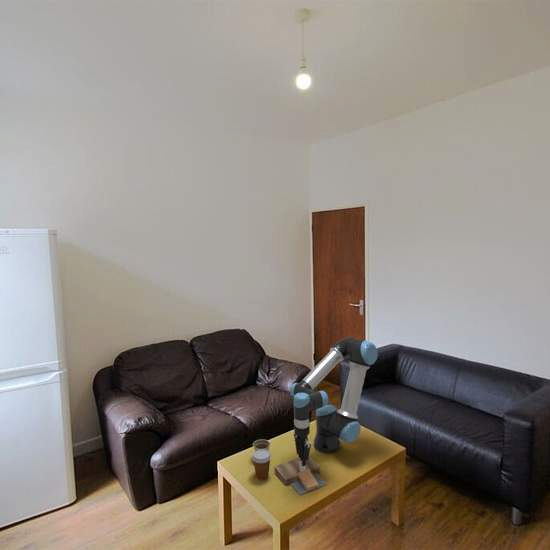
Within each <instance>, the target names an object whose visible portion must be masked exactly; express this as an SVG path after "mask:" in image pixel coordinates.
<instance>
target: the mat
mask: <svg viewBox="0 0 550 550" xmlns="http://www.w3.org/2000/svg"><path fill="white" fill-rule="evenodd" d="M313 476H314V478H315V479H316V481H317V483H318V487H317V488H314V489H312V490H309V491H307V490H306V489H305V487H304V485H303V484H302V482H301V480H298V481H296V482H293V483H290V484H289V485H290V486H291V487H292V488H293V490H295V492H296V493H297V494H298V495H299V496H302V495H305V494H307V493H309V492H312V491H314V490H317V489H319V488H321V487H325V486H327V483H326V482H325V481H324V480H323V479H322V478H321V477H320V476H319V474H314V475H313Z"/></svg>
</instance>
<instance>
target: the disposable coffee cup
mask: <svg viewBox="0 0 550 550" xmlns="http://www.w3.org/2000/svg"><path fill="white" fill-rule="evenodd" d="M271 457H272V454H271V451H268V450H266V449H259V450H256V451H255V450H254V452H253V453H252V456H251V458H252V461H253V465H254V466H253V467H254V473H255V478H256V480H259V481H266V480H267V479H268V478H269V474H270V473H269V472H270V463H271Z"/></svg>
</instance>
